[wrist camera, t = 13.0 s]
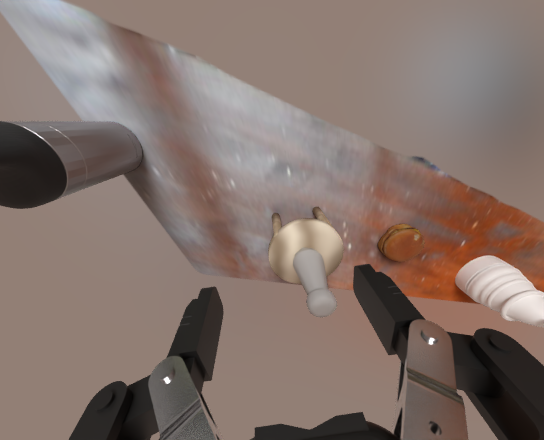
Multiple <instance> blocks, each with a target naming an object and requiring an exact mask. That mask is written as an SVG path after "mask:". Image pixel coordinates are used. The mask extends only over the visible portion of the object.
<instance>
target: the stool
mask: <svg viewBox="0 0 544 440" xmlns="http://www.w3.org/2000/svg"><path fill="white" fill-rule="evenodd" d="M313 213H314V215H315V217H316V218H317V219H313V218H304V219H298V220H295V221H292V222H290V223H287V224H286V225H284V226H283V227H282V226H281V221H280V216H279V214H278V213H274V214H273V215H272V222H273V230H274V236H273V238H272V239H271V242H270V244H269V250H268V254H269V263H270V266H271V268H272V270H273V271H274V272H275V274H276V275H277V276H279V277H280V278H282V279H283V280H285V281H287V282H290V283H295V284H302V283H301V281H300V279H299V277H298V275H297V273H296V271H295V269H294V267H293V260H294V256H295V254H296V253H297V252H298V251H299V250H300V249H301V248H302V247H304V248H313V249H315V250H316V251H317V252H319V253H320V254H321V255H322V257H323V260H324V265H325V271H326V277H327V276H329V275H330V274H331V273H332V272H333V271H334V270H335V269H336V268H337V267H338V265H339V264H340V262H341V260H342V257H343V251H344V249H343V242H342V240H341V238H340V236H339V234H338V233H337V232H336V230H335V229H334V228H333V227H332V225H331V224H330V222H329V221H328V219H327V218H326V217H325V215H324V214H323V212H322V211H321V209H320V208H319V207H314V208H313Z"/></svg>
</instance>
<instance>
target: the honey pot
mask: <svg viewBox="0 0 544 440" xmlns="http://www.w3.org/2000/svg"><path fill="white" fill-rule="evenodd" d="M455 283H456V285H457V287H459V288H460V289H461V290H462V291H463V292H464V293H466V294H467V295H468V296H469V297H470V298H472V299H473V300H474V301H475V302H477V303H480V304H483V305H484V306H486V307H489V308H490V309H491V310H495V311H497V312H500V315H501V317H502V318H504V319H505V320H508V321H521V322H525V323H527V324H530V325H534V326H538V327H544V292H541V291H539V290H536V289H535V288H534V286H533V284H532V283H531V282H530V281H528V279H527V278H526V277H525V276H523V274H522V273H521V272H520V271H519V270H518V269H516V268H514V267H513V266H511V265H510V264H508V263H506V262H504V261H503V260H501V259H499V258H497V257H495V256H482V257H479V258H476V259H474V260H472V261H470V262H469V263H467V264H466V265H464V266H463V267H462V268H461V269H460V271H459V272H458V274H457V276H456V278H455Z"/></svg>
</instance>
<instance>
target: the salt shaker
mask: <svg viewBox="0 0 544 440" xmlns="http://www.w3.org/2000/svg"><path fill="white" fill-rule="evenodd" d="M293 267H294V269H295V271H296V273H297V275H298V277H299V279H300V281H301V283H302V285H303V287H304V289H305V291H306V293H307V295H308V296H307V301H306V303H307V307H308V309H309V311H310V313H311V314H313V315H314V316H316V317H327V316H329V315H331V314H332V313H333V312H334V311H335V310H336V307H337V301H336V299H335V296H334V294H333V293H332V292H331V291H329V290H328V284H327V277H326V271H325V265H324V260H323V257H322V255H321V254H320V253H319V252H317V251H316V250H315V249H313V248H304V247H302V248H301V249H300V250H299V251H298V252H297V253H296V254H295V256H294V260H293Z"/></svg>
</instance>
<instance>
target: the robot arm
mask: <svg viewBox="0 0 544 440" xmlns="http://www.w3.org/2000/svg"><path fill="white" fill-rule="evenodd" d="M141 160H142V148H141V145H140V143H139V141H138V139H137V138H136V136H135V135H134V134H133V133H132V132H131V131H130V130H129V129H127V128H126V127H125V126H123V125H121V124H119V123H115V122H95V121H0V205H1V206H5V207H10V208H17V209H23V208H33V207H37V206H40V205H43V204H46V203H48V202H51V201H54V200H56V199H59V198H61V197H64V196H67V195H70V194H72V193H75V192H77V191H79V190H82V189H85V188H88V187H90V186H93V185H96V184H98V183H101V182H103V181H106V180H109V179H111V178H114V177H117V176H119V175H122V174H125V173H127V172H130V171H132V170H134V169H136V168H137V167H138V166H139V165H140V163H141ZM353 288H354V293H355V295H356V297H357V299H358V301H359V303H360V305H361V306H362V308H363V310H364V312H365V314H366V315H367V317H368V319H369V321H370V323H371V324H372V326H373V328H374V330H375V331H376V333H377V335H378V337H379V339H380V341H381V342H382V344H383V346H384V348H385V350H386V351H387V353H388V355H394V354H397V355H398V357H399V358H400V360H401V362H400V369H399V379H398V389H397V398H396V407H395V413H394V419H393V426H392V433H391V432H390V431H388V430H387V429H385V428H383V427H381V426H379V425H377V424H374V423H371V422H368V421H366V420H365V418H364V415H363V412H359V413H352V414H346V415H339V416H335V417H333V418H331V419H329V420H328V421H326V422H324V423H323V424H320V425H319V426H317V427H315V428H313V429H310V430H308V429H302V428H298V427H294V426H289V425H284V424H277V425H270V426H263V427H256V428H255V437H254V438H252V439H250V440H468V432H467V424H466V415H465V407H464V402H463V399H462V397H461V396H459V395H458V394H457V389H459V390H463V391H464V392H465V393H466V394H467V396H468V397H469V399H470V400H471V402H472V403H473V404H474V406H475V407H476V409H477V410H478V411H479V413H480V414H481V416H482V417H483V418H484V420H485V421H486V423H487V424H488V425H489V427H490V428H491V430H492V431H493V433H494V434H495V436H496V437H497V438H498V440H544V366H543V365H542V364H541V363H540V362H539V361H538V360H537V359H536V358H534V357H533V356H532V355H531V354H530V353H529V352H528V351H527V350H526V349H525V348H523V347H522V346H521V345H520V344H519V343H518V342H516V341H515V340H514V339H512V338H511V337H509V336H508V335H506V334H504V333H502V332H499V331H496V330H493V329H487V328H482V329H478V330H477V331H476V332H475V333H474V335H473V336H470V335H464V334H457V333H451V332H446V331H445V330H444V329H443V328H442V327H440V326H439V325H437V324H435V323H433V322H431V321H427V320H425V318H424V317H423V316H422V315H421V314H420V313H419V312H418V310H417V309H416V308H415V307H414V306H413V304H412V303H411V302H410V301H409V300H408V298H407V297H406V296H405V295H404V294H403V293H402V291H401V290H400V289H399V288H398V287H397V286H396V284H395V283H394V282H393V281H392V279H391V278H390V277H388V276H387V275H385V274H384V273H382V272H375V270H374V269H373V268H372V266H371V265H370V264H365V265H358V266H355V267H354V280H353ZM222 319H223V305H222V302H221V299H220V297H219V294H218V291H217V289H216V287H210V288H202V289H201V291H200V294H199V296H198V299H193V300H192V301H191V302H190V304H189V305H188V306H187V307H186V310H185V312H184V315H183V318H182V320H181V322H180V326H179V328H178V330H177V333H176V335H175V338H174V341H173V343H172V346H171V348H170V351H169V354H168V356H167V358H166V359H164V360H163V361H162V362H160V363H159V364H158V365H157V366H156V367H155V369H154V370H153V372H152V374H151V375H149V376H148V377H145V378H143V379H141V380H139V381H137V382H135V383H133V384H131V385H129V386H127V385H126V384H125V383H124V382H122V381H116V382H113V383H111V384H109V385H107V386H105V387H104V388H103V389H101V391H99V392H98V393H97V394H96V395H95V396H94V397H93V399H92V400H91V401H90V403H89V404H88V406H87V408H86V410H85V411H84V413H83V415H82V417H81V418H80V420H79V422H78V424H77V426H76V427H75V429H74V431H73V433H72V434H71V436H70V438H69V440H150V438H151V435H153V434H155V433H157V432H160V439H159V440H224V439H223V437H222V435H221V433H220V431H219V429H218V427H217V425H216V422H215V420H214V418H213V416H212V414H211V411H210V409H209V407H208V405H207V403H206V400H205V398H204V396H203V394H202V387H203V382H204V381H211V380H212V375H213V369H214V363H215V358H216V352H217V347H218V341H219V336H220V330H221V325H222Z"/></svg>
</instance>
